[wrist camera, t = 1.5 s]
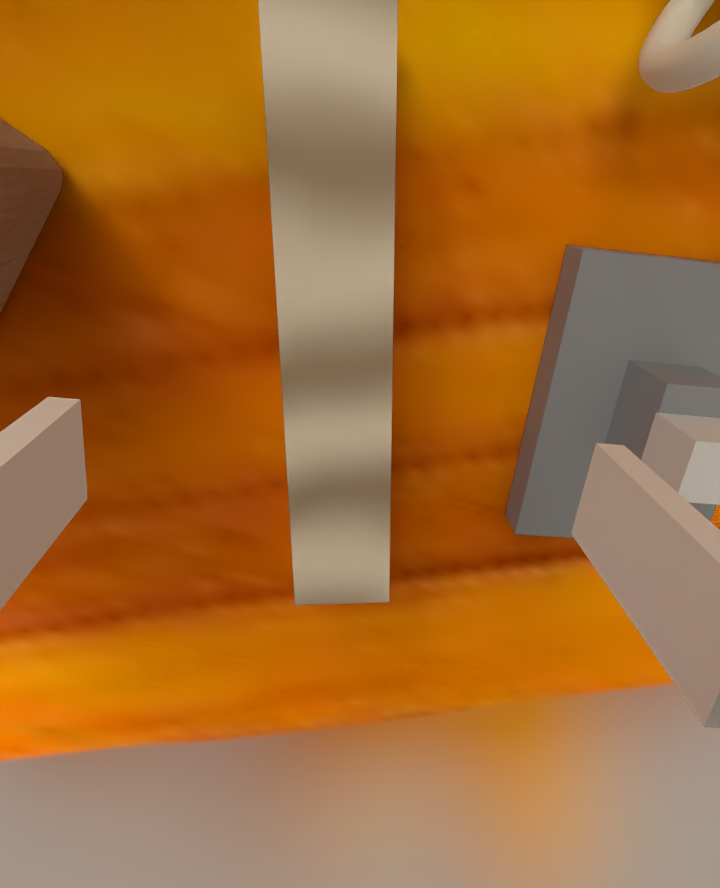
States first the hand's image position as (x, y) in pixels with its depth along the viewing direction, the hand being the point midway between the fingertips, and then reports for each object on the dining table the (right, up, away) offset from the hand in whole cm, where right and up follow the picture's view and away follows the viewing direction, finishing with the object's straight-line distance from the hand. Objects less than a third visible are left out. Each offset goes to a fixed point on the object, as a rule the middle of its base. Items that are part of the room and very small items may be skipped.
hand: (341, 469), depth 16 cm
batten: (-1, +6, +13) cm, 15 cm away
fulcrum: (+14, +3, +15) cm, 21 cm away
